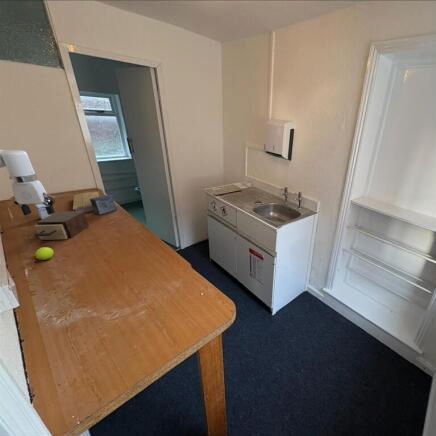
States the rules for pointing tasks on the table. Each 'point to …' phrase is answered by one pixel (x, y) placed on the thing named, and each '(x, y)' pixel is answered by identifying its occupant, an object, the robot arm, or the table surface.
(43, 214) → the medicine box
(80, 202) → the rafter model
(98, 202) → the small box
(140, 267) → the table surface
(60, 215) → the cabinet
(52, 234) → the drawer
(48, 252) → the ball
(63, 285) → the table surface
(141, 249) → the table surface
